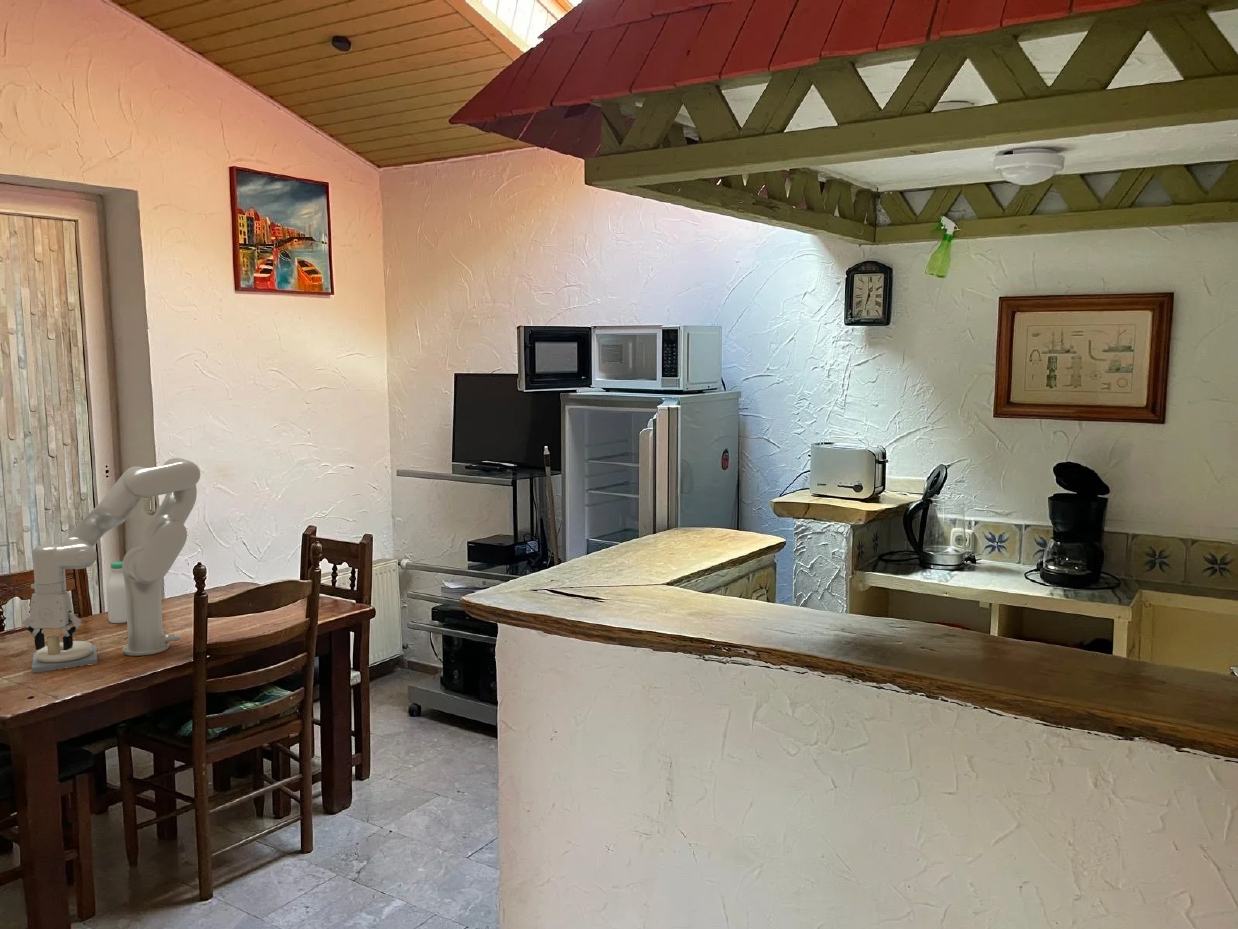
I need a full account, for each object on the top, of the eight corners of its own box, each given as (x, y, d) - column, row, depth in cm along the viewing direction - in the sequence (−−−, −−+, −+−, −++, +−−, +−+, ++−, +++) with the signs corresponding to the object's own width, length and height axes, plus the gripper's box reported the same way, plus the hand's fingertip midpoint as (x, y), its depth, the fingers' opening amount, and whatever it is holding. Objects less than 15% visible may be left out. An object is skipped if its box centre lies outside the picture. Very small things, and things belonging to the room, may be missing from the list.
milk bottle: (120, 624, 306) (117, 565, 303) (103, 622, 308) (100, 564, 306) (139, 618, 313) (136, 561, 311) (122, 616, 315) (119, 559, 313)
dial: (27, 657, 265) (25, 633, 265) (76, 644, 277) (74, 622, 277) (53, 665, 258) (51, 641, 258) (102, 652, 270) (101, 629, 270)
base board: (96, 649, 279) (96, 644, 279) (97, 664, 265) (97, 659, 265) (34, 657, 271) (33, 652, 271) (32, 673, 257) (31, 667, 257)
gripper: (11, 591, 257) (15, 652, 259) (73, 591, 257) (77, 653, 259) (28, 584, 264) (31, 644, 266) (88, 585, 264) (92, 645, 266)
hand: (54, 648), depth 263 cm, fingers open, 7 cm apart
